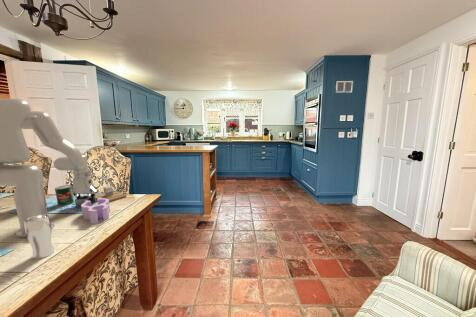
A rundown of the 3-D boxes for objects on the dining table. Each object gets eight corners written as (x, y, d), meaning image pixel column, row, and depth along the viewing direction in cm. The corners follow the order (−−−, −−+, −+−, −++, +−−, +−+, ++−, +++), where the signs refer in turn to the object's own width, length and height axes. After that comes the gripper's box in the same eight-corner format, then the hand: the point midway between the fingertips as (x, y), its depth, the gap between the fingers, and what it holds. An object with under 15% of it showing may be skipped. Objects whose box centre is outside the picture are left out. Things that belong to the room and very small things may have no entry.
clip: (115, 218, 106) (113, 206, 105) (86, 226, 98) (84, 213, 97) (107, 207, 121) (105, 196, 120) (81, 213, 112) (79, 202, 111)
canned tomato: (70, 200, 132) (67, 184, 130) (76, 202, 128) (74, 185, 126) (55, 204, 125) (52, 188, 123) (61, 207, 121) (58, 189, 119)
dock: (126, 196, 137) (125, 186, 135) (103, 203, 125) (102, 192, 124) (113, 192, 147) (112, 182, 145) (91, 198, 135) (90, 187, 134)
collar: (95, 203, 127) (94, 195, 126) (86, 207, 120) (85, 199, 119) (85, 202, 127) (84, 195, 126) (75, 207, 120) (74, 199, 120)
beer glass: (60, 248, 81) (54, 213, 78) (44, 259, 74) (37, 222, 71) (42, 248, 81) (35, 213, 78) (25, 260, 74) (16, 222, 71)
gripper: (99, 173, 123) (103, 201, 126) (73, 173, 125) (78, 200, 128) (90, 177, 116) (94, 206, 119) (62, 177, 117) (67, 205, 120)
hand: (85, 203), depth 123 cm, fingers closed on collar, 7 cm apart
